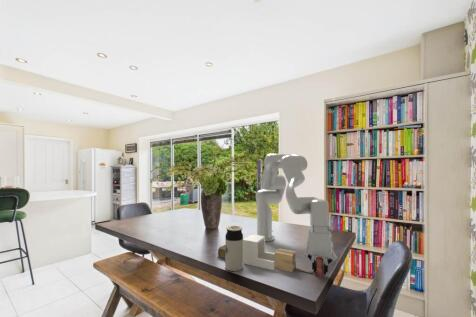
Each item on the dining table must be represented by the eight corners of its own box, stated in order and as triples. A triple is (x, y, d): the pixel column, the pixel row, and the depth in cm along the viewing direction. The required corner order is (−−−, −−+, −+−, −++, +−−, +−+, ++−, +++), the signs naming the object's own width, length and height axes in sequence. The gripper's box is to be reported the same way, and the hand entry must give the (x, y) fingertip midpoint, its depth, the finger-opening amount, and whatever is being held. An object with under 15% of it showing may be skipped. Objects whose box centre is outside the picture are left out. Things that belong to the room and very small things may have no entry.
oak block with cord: (279, 263, 107) (278, 248, 108) (324, 273, 97) (324, 256, 98) (274, 268, 102) (274, 252, 102) (322, 278, 92) (322, 261, 92)
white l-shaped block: (252, 255, 116) (252, 234, 117) (280, 261, 109) (280, 238, 109) (242, 263, 107) (243, 239, 107) (273, 270, 100) (273, 244, 100)
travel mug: (242, 264, 106) (242, 225, 107) (243, 271, 98) (243, 229, 99) (225, 264, 106) (225, 225, 107) (225, 271, 98) (225, 229, 99)
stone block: (224, 253, 120) (224, 244, 120) (241, 259, 112) (241, 249, 112) (217, 256, 115) (217, 246, 115) (233, 263, 108) (234, 252, 108)
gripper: (341, 229, 96) (342, 273, 95) (301, 224, 104) (302, 265, 103) (340, 233, 89) (340, 281, 88) (297, 228, 97) (298, 271, 96)
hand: (320, 272), depth 95 cm, fingers open, 3 cm apart
